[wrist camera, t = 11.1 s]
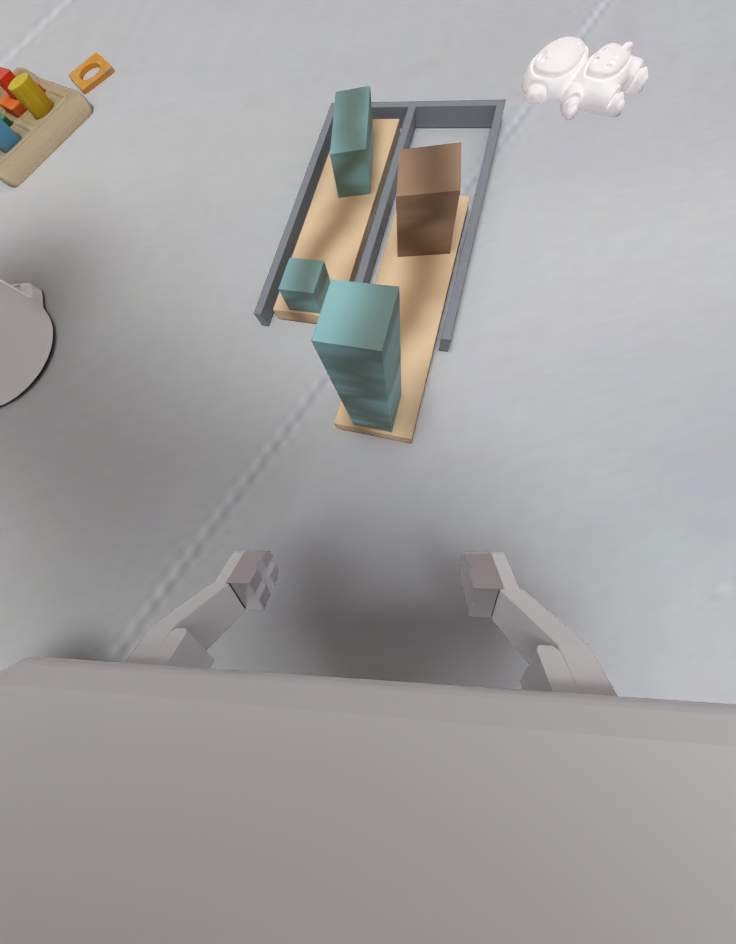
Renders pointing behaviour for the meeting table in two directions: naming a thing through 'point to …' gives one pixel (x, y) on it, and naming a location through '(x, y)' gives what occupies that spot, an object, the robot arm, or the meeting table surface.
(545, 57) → the astronaut figurine
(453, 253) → the oak strip
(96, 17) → the meeting table surface
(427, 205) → the walnut cube
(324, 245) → the broken strip
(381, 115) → the lane rails
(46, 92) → the shape sorter
